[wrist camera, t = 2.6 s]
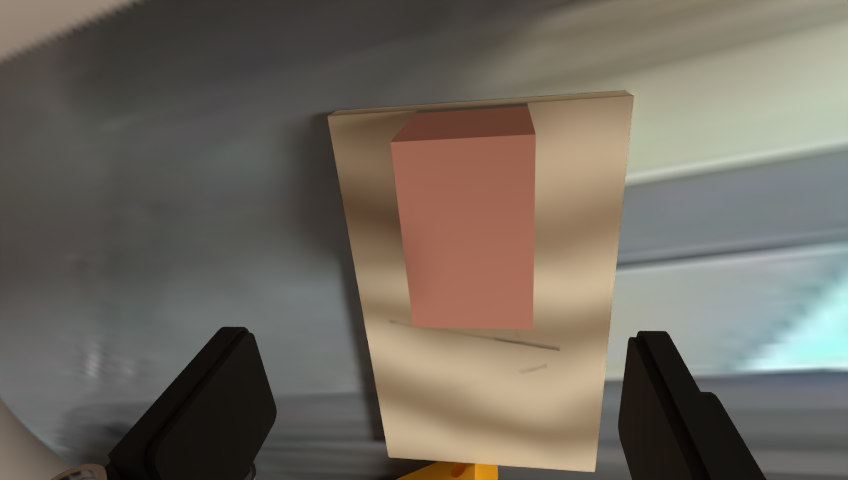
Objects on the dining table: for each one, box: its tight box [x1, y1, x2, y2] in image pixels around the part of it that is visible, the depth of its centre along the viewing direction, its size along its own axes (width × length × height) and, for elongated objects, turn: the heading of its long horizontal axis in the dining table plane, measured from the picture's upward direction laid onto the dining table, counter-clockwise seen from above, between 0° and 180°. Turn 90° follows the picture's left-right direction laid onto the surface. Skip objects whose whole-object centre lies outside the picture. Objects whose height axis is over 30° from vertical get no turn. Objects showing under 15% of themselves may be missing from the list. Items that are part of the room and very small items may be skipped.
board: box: [327, 91, 634, 472], centre depth 27 cm, size 24×14×2 cm, turn 5°
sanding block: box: [390, 103, 536, 329], centre depth 20 cm, size 8×5×6 cm, turn 5°
